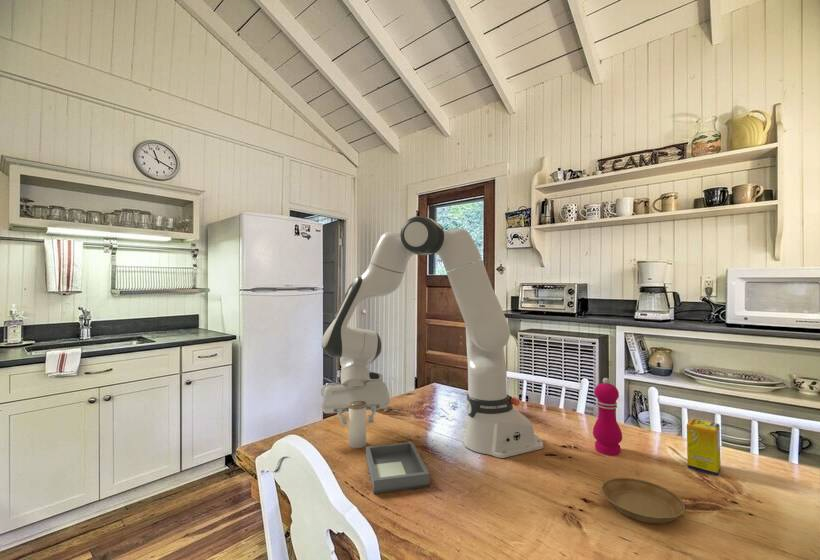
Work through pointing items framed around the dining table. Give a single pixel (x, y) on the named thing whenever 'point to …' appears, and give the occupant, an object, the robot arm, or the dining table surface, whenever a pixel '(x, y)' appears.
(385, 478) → the tray
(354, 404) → the tube
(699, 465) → the supplement box
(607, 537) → the dining table surface
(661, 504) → the plant saucer
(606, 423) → the pepper mill
